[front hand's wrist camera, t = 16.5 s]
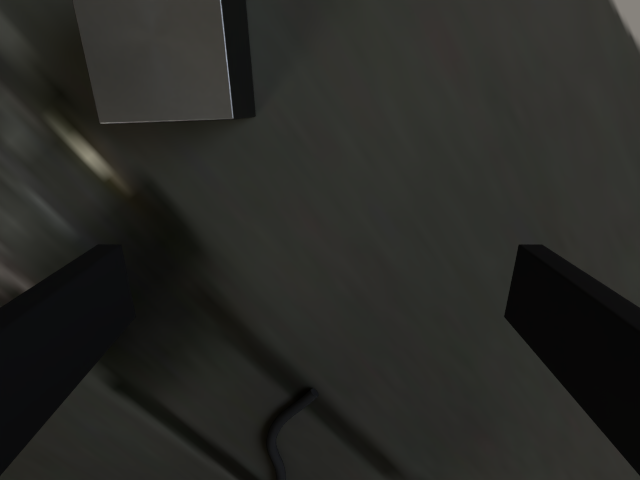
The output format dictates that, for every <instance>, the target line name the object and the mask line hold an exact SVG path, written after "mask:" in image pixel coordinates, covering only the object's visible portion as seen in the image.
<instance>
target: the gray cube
mask: <svg viewBox="0 0 640 480" xmlns="http://www.w3.org/2000/svg"><path fill="white" fill-rule="evenodd" d="M72 1H73V5H74V10H75V14H76V19H77V23H78V28H79V32H80V37H81V41H82V46H83V51H84V55H85V60H86V64H87V69H88V73H89V78H90V82H91V87H92V91H93V96H94V100H95V105H96V109H97V114H98V118H99V123H100V124H122V123H150V122H178V121H206V120H233V119H241V118H250V117H255V116H256V114H255V103H254V91H253V80H252V68H251V57H250V45H249V34H248V22H247V11H246V0H72Z"/></svg>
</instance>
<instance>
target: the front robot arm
mask: <svg viewBox="0 0 640 480" xmlns="http://www.w3.org/2000/svg"><path fill="white" fill-rule="evenodd" d="M135 317H136V315H135V310H134V306H133V301H132V296H131V291H130V286H129V281H128V276H127V271H126V266H125V261H124V256H123V251H122V246H121V245H97V246H95V247H93V248H92V249H90V250H89V251H87V252H86V253H84V254H83V255H81V256H80V257H78V258H76V259H75V260H73V261H72V262H70V263H69V264H67V265H66V266H64V267H63V268H61V269H59V270H58V271H56V272H55V273H53V274H52V275H50V276H49V277H47V278H46V279H44V280H43V281H41V282H39V283H38V284H36V285H35V286H33V287H32V288H30V289H29V290H27V291H26V292H24V293H22V294H21V295H19V296H18V297H16V298H15V299H13V300H12V301H10V302H9V303H7V304H5V305H4V306H2V307H1V308H0V475H1V474H2V473H3V472H4V471H5V469H6V468H7V467H8V466H9V465H10V464H11V462H12V461H13V460H14V459H15V458H16V456H17V455H18V454H19V453H20V452H21V451H22V449H23V448H24V447H25V446H26V445H27V444H28V442H29V441H30V440H31V439H32V438H33V437H34V435H35V434H36V433H37V432H38V431H39V430H40V428H41V427H42V426H43V425H44V424H45V423H46V421H47V420H48V419H49V418H50V417H51V415H52V414H53V413H54V412H55V411H56V410H57V408H58V407H59V406H60V405H61V404H62V403H63V401H64V400H65V399H66V398H67V397H68V396H69V394H70V393H71V392H72V391H73V390H74V389H75V387H76V386H77V385H78V384H79V383H80V381H81V380H82V379H83V378H84V377H85V376H86V374H87V373H88V372H89V371H90V370H91V369H92V367H93V366H94V365H95V364H96V363H97V362H98V360H99V359H100V358H101V357H102V356H103V355H104V353H105V352H106V351H107V350H108V349H109V348H110V346H111V345H112V344H113V343H114V342H115V340H116V339H117V338H118V337H119V336H120V335H121V333H122V332H123V331H124V330H125V329H126V328H127V326H128V325H129V324H130V323H131V322H132V321H133V319H134V318H135ZM504 317H505V318H506V319H507V321H508V322H509V323H510V324H511V325H512V326H513V328H514V329H515V330H516V331H517V332H518V333H519V335H520V336H521V337H522V338H523V339H524V340H525V342H526V343H527V344H528V345H529V346H530V348H531V349H532V350H533V351H534V352H535V353H536V355H537V356H538V357H539V358H540V359H541V360H542V362H543V363H544V364H545V365H546V366H547V367H548V369H549V370H550V371H551V372H552V373H553V374H554V376H555V377H556V378H557V379H558V380H559V381H560V383H561V384H562V385H563V386H564V387H565V389H566V390H567V391H568V392H569V393H570V394H571V396H572V397H573V398H574V399H575V400H576V401H577V403H578V404H579V405H580V406H581V407H582V408H583V410H584V411H585V412H586V413H587V414H588V415H589V417H590V418H591V419H592V420H593V421H594V423H595V424H596V425H597V426H598V427H599V428H600V430H601V431H602V432H603V433H604V434H605V435H606V437H607V438H608V439H609V440H610V441H611V442H612V444H613V445H614V446H615V447H616V448H617V449H618V451H619V452H620V453H621V454H622V455H623V457H624V458H625V459H626V460H627V461H628V462H629V464H630V465H631V466H632V467H633V468H634V469H635V471H636V472H637V473H638V474H639V475H640V308H639V307H638V306H636V305H635V304H633V303H631V302H630V301H628V300H627V299H625V298H624V297H622V296H621V295H619V294H618V293H616V292H614V291H613V290H611V289H610V288H608V287H607V286H605V285H604V284H602V283H601V282H599V281H597V280H596V279H594V278H593V277H591V276H590V275H588V274H587V273H585V272H584V271H582V270H581V269H579V268H577V267H576V266H574V265H573V264H571V263H570V262H568V261H567V260H565V259H564V258H562V257H560V256H559V255H557V254H556V253H554V252H553V251H551V250H550V249H548V248H547V247H545V246H543V245H519V246H518V251H517V256H516V261H515V266H514V271H513V276H512V281H511V286H510V291H509V296H508V301H507V306H506V310H505V315H504ZM317 397H318V392H317V391H316V390H315V389H313V388H312V389H311V390H309V391H308V392H307V393H306V394H305V395H304V396H303V397H301V398H300V399H299V400H298V401H296V402H295V403H294V404H292V405H291V406H289V407H288V408H287V409H286V410H284V411H283V412H282V413H281V414H280V415H279V416H278V417H277V418H276V419H275V421H274V422H273V424H272V425H271V427H270V430H269V432H268V436H267V450H268V453H269V456H270V458H271V460H272V462H273V465H274V467H275V470H276V474H277V480H286V473H285V468H284V464H283V462H282V459H281V457H280V455H279V452H278V450H277V446H276V438H277V435H278V432H279V431H280V429H281V428H282V426H283V425H284V424H285V423H286V422H287V421H288V420H289V419H290V418H291V417H293V416H294V415H295V414H296V413H298V412H299V411H301V410H302V409H303V408H305V407H306V406H307V405H309V404H310V403H311V402H312V401H313V400H314V399H316V398H317Z"/></svg>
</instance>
